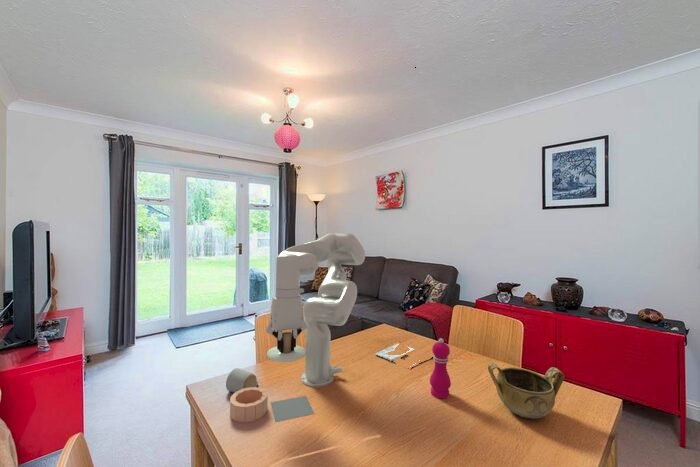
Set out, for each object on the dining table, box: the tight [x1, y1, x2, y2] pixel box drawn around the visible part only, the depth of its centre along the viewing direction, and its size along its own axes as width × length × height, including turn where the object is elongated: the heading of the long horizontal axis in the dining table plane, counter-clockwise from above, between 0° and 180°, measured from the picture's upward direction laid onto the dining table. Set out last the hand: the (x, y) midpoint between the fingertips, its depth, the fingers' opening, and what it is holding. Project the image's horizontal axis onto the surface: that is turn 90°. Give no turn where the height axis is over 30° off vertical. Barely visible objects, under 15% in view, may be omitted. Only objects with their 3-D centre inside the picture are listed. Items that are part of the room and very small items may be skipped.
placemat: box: [270, 395, 315, 423], centre depth 99 cm, size 12×11×1 cm
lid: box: [266, 330, 306, 363], centre depth 98 cm, size 12×12×8 cm
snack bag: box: [374, 342, 420, 367], centre depth 141 cm, size 19×20×2 cm
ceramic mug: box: [225, 367, 259, 394], centre depth 110 cm, size 11×8×8 cm
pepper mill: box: [429, 338, 452, 399], centre depth 110 cm, size 7×7×20 cm
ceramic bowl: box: [487, 362, 565, 420], centre depth 100 cm, size 22×17×15 cm
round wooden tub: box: [229, 386, 268, 423], centre depth 97 cm, size 11×11×5 cm
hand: (286, 350), depth 98 cm, fingers closed on lid, 3 cm apart
